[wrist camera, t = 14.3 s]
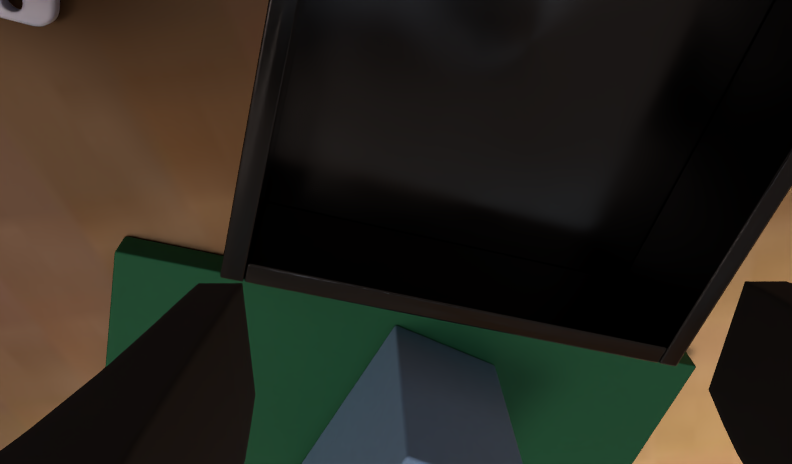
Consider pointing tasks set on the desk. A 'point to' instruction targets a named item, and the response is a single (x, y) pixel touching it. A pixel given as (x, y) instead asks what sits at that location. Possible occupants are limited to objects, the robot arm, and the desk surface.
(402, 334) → the blue-grey rectangular block
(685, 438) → the desk surface
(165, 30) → the desk surface
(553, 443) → the felt mat
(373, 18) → the desk tray
